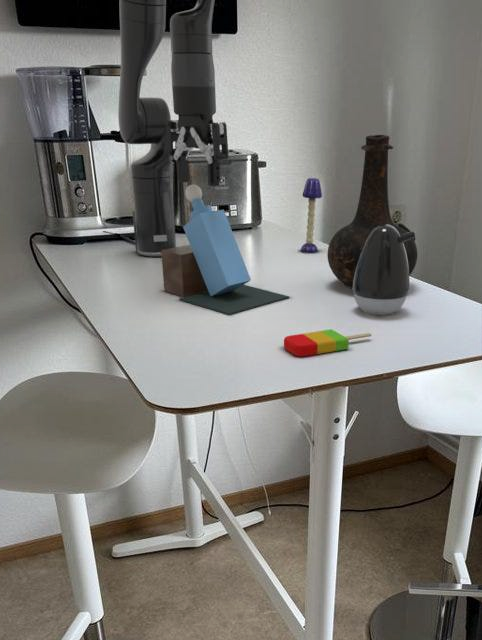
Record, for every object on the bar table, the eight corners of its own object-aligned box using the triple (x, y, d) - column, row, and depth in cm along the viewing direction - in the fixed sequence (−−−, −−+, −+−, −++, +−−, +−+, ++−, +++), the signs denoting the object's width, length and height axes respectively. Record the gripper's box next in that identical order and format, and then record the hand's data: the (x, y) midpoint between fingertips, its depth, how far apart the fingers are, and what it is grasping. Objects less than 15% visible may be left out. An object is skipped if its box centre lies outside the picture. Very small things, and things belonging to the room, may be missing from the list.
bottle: (251, 295, 135) (249, 188, 126) (228, 301, 132) (224, 191, 122) (205, 283, 143) (199, 182, 134) (182, 289, 140) (175, 185, 130)
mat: (179, 300, 134) (179, 298, 134) (239, 285, 144) (239, 283, 144) (229, 315, 125) (229, 313, 125) (289, 297, 136) (289, 296, 135)
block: (164, 291, 139) (160, 250, 135) (208, 280, 147) (207, 241, 143) (183, 296, 136) (180, 254, 132) (228, 285, 143) (227, 245, 139)
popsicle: (280, 347, 110) (280, 336, 109) (361, 334, 116) (362, 323, 115) (296, 358, 106) (297, 346, 105) (379, 344, 112) (380, 333, 111)
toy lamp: (320, 249, 174) (323, 177, 166) (319, 253, 170) (322, 180, 162) (301, 249, 175) (302, 177, 166) (299, 253, 171) (301, 179, 162)
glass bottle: (425, 296, 137) (443, 138, 123) (337, 299, 134) (345, 138, 121) (398, 274, 152) (410, 132, 138) (318, 277, 150) (323, 132, 136)
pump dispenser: (401, 322, 122) (410, 231, 115) (344, 315, 125) (349, 227, 118) (413, 306, 131) (421, 221, 123) (359, 301, 134) (364, 217, 126)
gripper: (237, 84, 120) (239, 185, 128) (183, 84, 129) (189, 179, 137) (204, 84, 115) (209, 189, 123) (151, 84, 124) (158, 182, 132)
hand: (198, 183), depth 130 cm, fingers open, 8 cm apart
